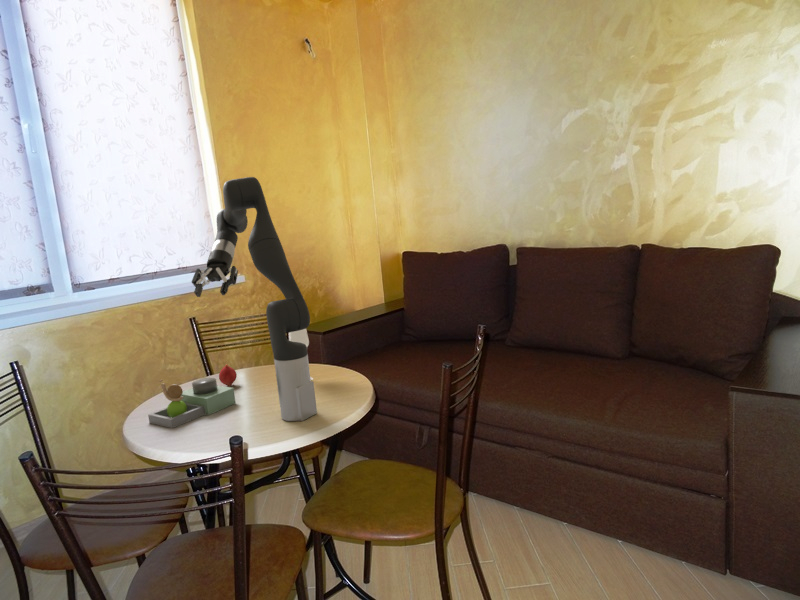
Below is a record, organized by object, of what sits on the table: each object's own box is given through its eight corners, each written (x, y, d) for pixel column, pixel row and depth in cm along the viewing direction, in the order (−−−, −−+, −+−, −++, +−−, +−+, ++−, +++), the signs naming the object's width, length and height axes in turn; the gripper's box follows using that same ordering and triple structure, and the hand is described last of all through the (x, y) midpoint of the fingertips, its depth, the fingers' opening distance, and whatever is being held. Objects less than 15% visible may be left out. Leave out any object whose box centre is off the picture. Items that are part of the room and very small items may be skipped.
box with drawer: (235, 403, 161) (232, 378, 159) (175, 429, 143) (171, 401, 142) (206, 398, 168) (203, 374, 167) (146, 422, 151) (142, 395, 150)
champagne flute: (298, 377, 183) (290, 310, 179) (316, 376, 182) (308, 310, 178) (290, 383, 176) (282, 314, 173) (309, 382, 175) (300, 313, 171)
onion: (216, 388, 178) (213, 365, 177) (229, 382, 183) (226, 361, 182) (229, 389, 175) (225, 366, 174) (241, 384, 180) (238, 362, 179)
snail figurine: (170, 415, 155) (164, 377, 153) (191, 414, 154) (185, 375, 152) (161, 422, 149) (155, 382, 148) (182, 421, 149) (176, 381, 147)
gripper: (196, 250, 172) (183, 289, 162) (237, 247, 170) (226, 286, 161) (206, 264, 178) (194, 302, 168) (245, 261, 176) (235, 300, 167)
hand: (209, 294), depth 164 cm, fingers open, 8 cm apart
